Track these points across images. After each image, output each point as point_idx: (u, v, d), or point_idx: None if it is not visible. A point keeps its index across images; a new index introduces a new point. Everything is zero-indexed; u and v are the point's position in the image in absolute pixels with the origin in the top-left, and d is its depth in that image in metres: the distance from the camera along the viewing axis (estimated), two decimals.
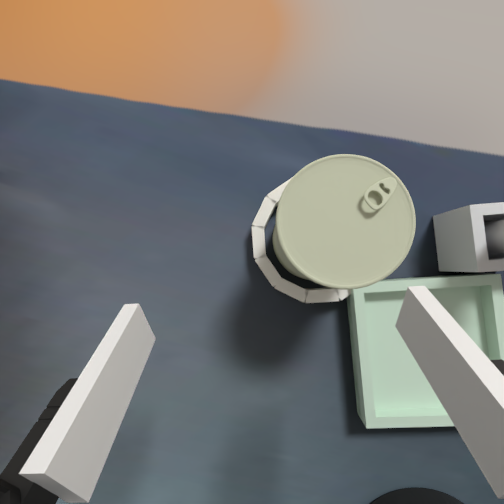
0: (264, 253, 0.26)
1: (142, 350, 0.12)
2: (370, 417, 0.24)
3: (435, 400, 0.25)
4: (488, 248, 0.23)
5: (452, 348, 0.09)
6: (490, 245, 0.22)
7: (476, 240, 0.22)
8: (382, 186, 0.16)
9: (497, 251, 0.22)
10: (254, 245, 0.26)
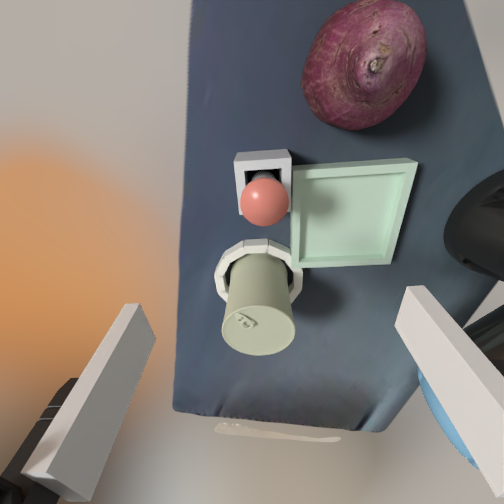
0: None
1: (143, 350, 0.12)
2: (383, 261, 0.35)
3: (385, 212, 0.32)
4: None
5: (451, 347, 0.09)
6: None
7: None
8: (239, 317, 0.29)
9: None
10: None
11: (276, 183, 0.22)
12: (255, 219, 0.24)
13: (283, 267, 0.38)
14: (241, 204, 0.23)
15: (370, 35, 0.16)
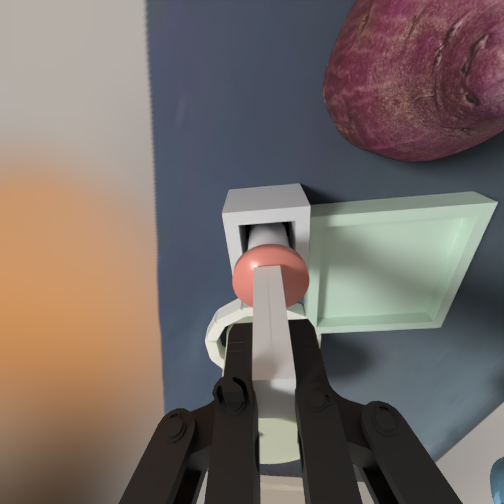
0: None
1: None
2: (431, 324, 0.26)
3: (437, 264, 0.23)
4: None
5: None
6: None
7: None
8: None
9: None
10: None
11: (289, 255, 0.14)
12: None
13: None
14: (234, 284, 0.15)
15: None
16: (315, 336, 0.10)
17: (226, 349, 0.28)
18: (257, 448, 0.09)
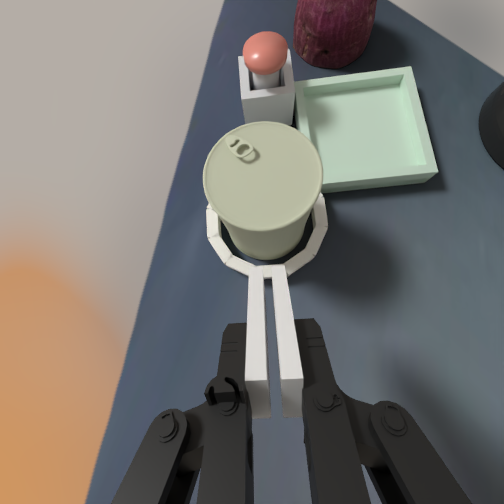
0: None
1: (265, 308, 0.14)
2: (427, 168, 0.27)
3: (401, 122, 0.30)
4: None
5: (275, 309, 0.11)
6: None
7: (270, 94, 0.28)
8: (233, 145, 0.19)
9: None
10: None
11: (274, 33, 0.26)
12: (257, 62, 0.25)
13: None
14: (244, 51, 0.26)
15: None
16: (321, 336, 0.10)
17: None
18: (250, 448, 0.09)
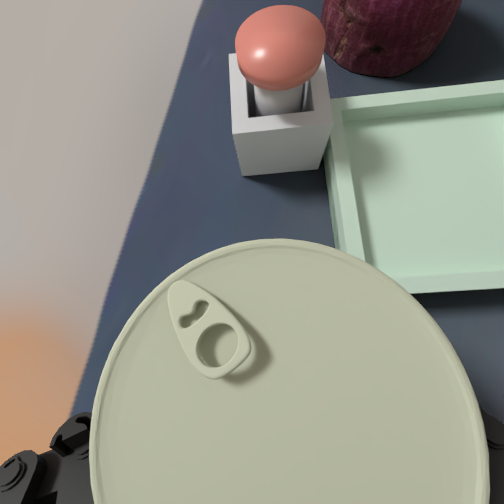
0: None
1: None
2: None
3: None
4: None
5: None
6: None
7: (286, 125, 0.15)
8: (189, 314, 0.06)
9: None
10: None
11: (299, 8, 0.13)
12: (263, 65, 0.12)
13: None
14: (237, 43, 0.13)
15: None
16: None
17: None
18: None
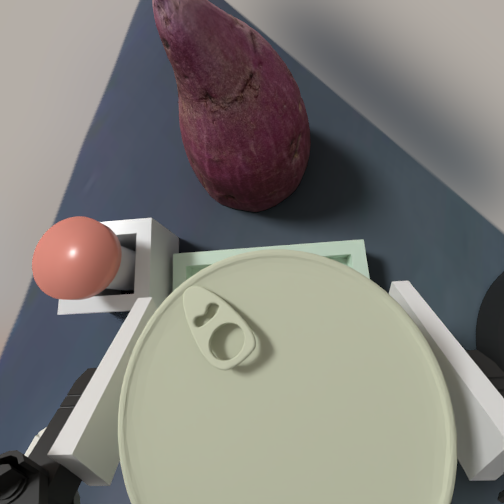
0: None
1: None
2: None
3: None
4: None
5: (430, 339, 0.09)
6: None
7: (106, 308, 0.16)
8: (202, 315, 0.07)
9: None
10: None
11: (95, 222, 0.14)
12: (52, 285, 0.13)
13: None
14: (35, 257, 0.14)
15: None
16: None
17: None
18: None
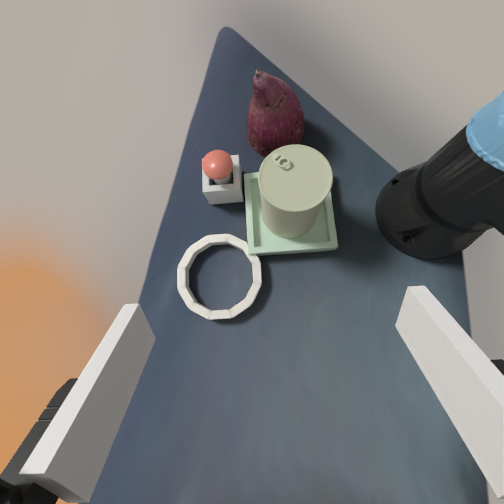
0: (228, 310, 0.38)
1: (142, 350, 0.12)
2: (331, 244, 0.38)
3: None
4: None
5: (452, 348, 0.09)
6: None
7: (222, 189, 0.39)
8: (276, 159, 0.31)
9: None
10: (222, 317, 0.38)
11: (224, 151, 0.37)
12: (211, 173, 0.37)
13: None
14: (202, 164, 0.37)
15: None
16: None
17: None
18: None
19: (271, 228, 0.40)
